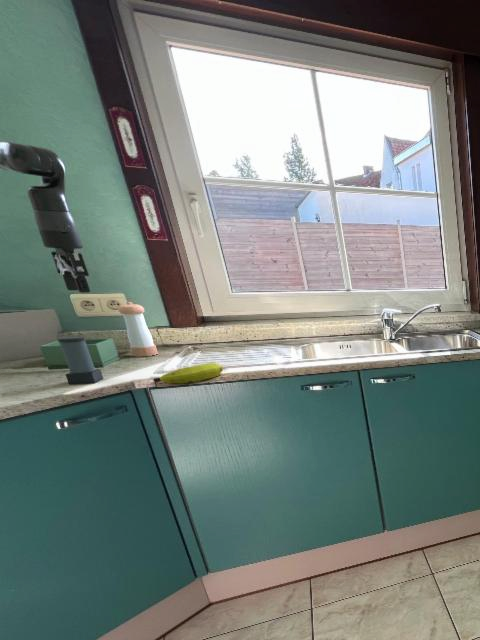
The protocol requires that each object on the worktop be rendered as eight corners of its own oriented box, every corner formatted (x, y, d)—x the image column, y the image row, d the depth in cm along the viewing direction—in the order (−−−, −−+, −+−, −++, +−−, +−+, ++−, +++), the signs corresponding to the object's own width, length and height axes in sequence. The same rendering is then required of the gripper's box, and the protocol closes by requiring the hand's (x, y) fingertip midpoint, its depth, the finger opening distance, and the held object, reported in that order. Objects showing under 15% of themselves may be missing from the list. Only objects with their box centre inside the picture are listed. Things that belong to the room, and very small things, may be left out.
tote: (48, 369, 158) (39, 346, 155) (68, 361, 169) (60, 339, 166) (103, 367, 163) (96, 344, 161) (119, 359, 175) (112, 338, 172)
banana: (228, 358, 162) (179, 366, 160) (196, 366, 146) (142, 374, 144) (233, 372, 163) (185, 379, 162) (203, 381, 147) (149, 389, 145)
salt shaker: (139, 353, 185) (123, 301, 178) (162, 353, 187) (147, 301, 180) (127, 357, 179) (110, 302, 172) (151, 356, 180) (135, 303, 173)
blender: (68, 384, 142) (52, 339, 138) (78, 380, 147) (62, 336, 143) (95, 383, 145) (79, 338, 140) (103, 378, 150) (88, 335, 145)
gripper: (29, 228, 134) (51, 290, 140) (48, 228, 128) (70, 293, 134) (67, 230, 140) (86, 289, 146) (86, 230, 134) (106, 292, 140)
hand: (78, 291), depth 140 cm, fingers open, 8 cm apart
